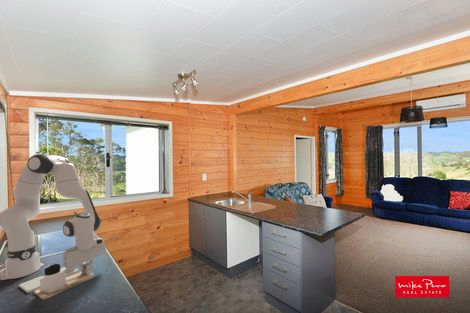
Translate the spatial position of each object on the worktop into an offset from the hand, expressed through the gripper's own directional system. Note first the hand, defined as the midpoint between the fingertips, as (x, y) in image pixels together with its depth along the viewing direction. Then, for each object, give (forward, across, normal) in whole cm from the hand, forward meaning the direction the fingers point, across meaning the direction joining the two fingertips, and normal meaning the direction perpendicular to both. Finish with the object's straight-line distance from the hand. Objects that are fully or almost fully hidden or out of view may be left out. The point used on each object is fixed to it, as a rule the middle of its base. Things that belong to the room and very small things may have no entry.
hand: (86, 268), depth 126 cm
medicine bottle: (+4, -15, 0) cm, 16 cm away
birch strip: (+4, -10, 0) cm, 11 cm away
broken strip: (+4, -12, +14) cm, 19 cm away
